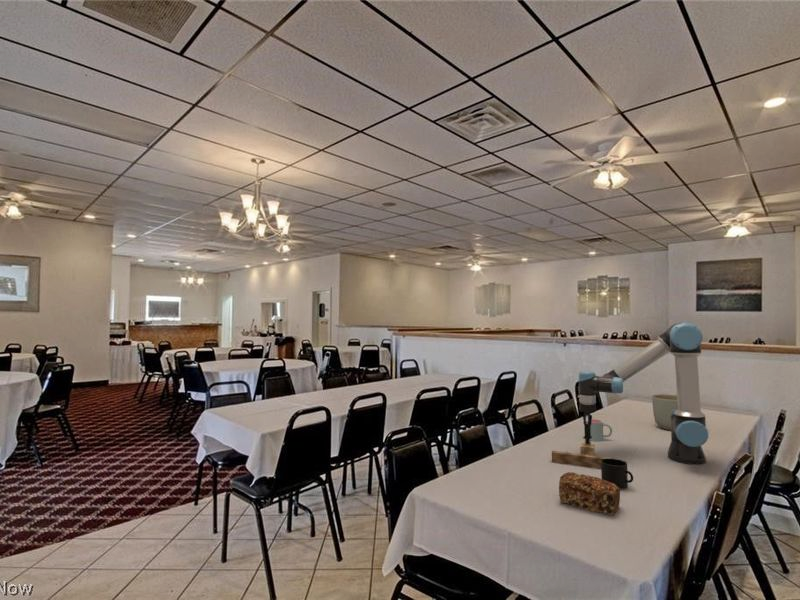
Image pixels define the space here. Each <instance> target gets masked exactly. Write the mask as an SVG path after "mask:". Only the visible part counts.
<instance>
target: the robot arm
mask: <svg viewBox="0 0 800 600" xmlns="http://www.w3.org/2000/svg"><path fill="white" fill-rule="evenodd" d="M702 342H703V333H702V331H701V329H700V328H699V327H698V326H696V325H695V324H693V323H690V322H677V323H674V324H672V325H671V326H670V327H669V328H667V329H666V331H664V332H663V333H661V334H660V335H659V336H657V340H655V341H654V342H652V343H651V344H649V345H648V346H646V347H645V348H643V349H642V350H640V351H639V352H637V353H636V354H634V355H632V356H631V357H629V358H628V359H627V360H625V361H623V362H622V363H621V364H619V365H618V366H616V367H615V368H614V369H612V370H610V371H609V372H605V374H603V375H602V376H599V375H596V372H595V371H589V370H582V371H580V372H579V373H578V395H577V398H579V399H578V402H579V403H578V405H579V406H578V411H579V412H581V413H584V414H583V416H582V419H583V426H584V436H583V437H582V439H583V440H584V444H592V441H591V438H592V437H591V423H592V419H593V413H596V411H597V408H596V407H597V405H596V403H597V400H596V398H597V394H596V392H597V393H608V394H609V393H610V394H623V391H624V383H625V381H627V380H629V379H630V378H632V377H633V376H635V375H636V374H638V373H639V372H641V371H643V370H644V369H646V368H647V367H649V366H650V365H652V364H653V363H655V362H657V361H658V360H660V359H661V358H663V357H664V356H666V355H667V354H669V353H670V354H672V355H673V356H674V366H675V367H674V368H675V382H676V383H675V384H676V385H675V386H676V395H677V405H678V410H672V411H671V415H670V417H671V431H670V433H671V434H670V437H671V441H670V443H669V447H668V450H667V458H668V459H669V460H671V461H674V462H677V463H682V464H687V465H696V466H697V465H704V464H707V458H706V455H705V453H704V449H703V447H702V446H703V445H704V444H706V443H707V442H708V439H709V431H708V429H707V425H706V424H707V423H706V415H705V413H704V412H702V410H701V408H702V407H701V396H700V395H701V394H700V393H701V392H700V377H699V362H698V361H699V360H698V357H699V356H701V354H702ZM591 413H592V414H591Z"/></svg>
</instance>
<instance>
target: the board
mask: <svg viewBox="0 0 800 600" xmlns="http://www.w3.org/2000/svg"><path fill="white" fill-rule="evenodd" d="M607 458H608V457H606V456H599V455H595V456H592V455H587V454H586V455H584V454H581V453H574V452H566V451H558V450H552V451H551V463H554V464H555V463H556V464H562V465H569V466H570V465H571V466H575V467H576V466H577V467H584V468H590V469H591V468H592V469H599V470H601V460H602V459H607ZM610 458H611V459H615V458H614V457H610Z"/></svg>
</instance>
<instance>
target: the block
mask: <svg viewBox="0 0 800 600" xmlns="http://www.w3.org/2000/svg"><path fill="white" fill-rule="evenodd" d="M595 447H596V446H595V444H592V443H591V444H585V442H584V443H583V442H581V443H580V447H579V448H580V452H579V453H580V454H584V455H586V454H587V455H592V456H596V455H595V454H596V453H595V452H596V451H595V450H596V449H595Z"/></svg>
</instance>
